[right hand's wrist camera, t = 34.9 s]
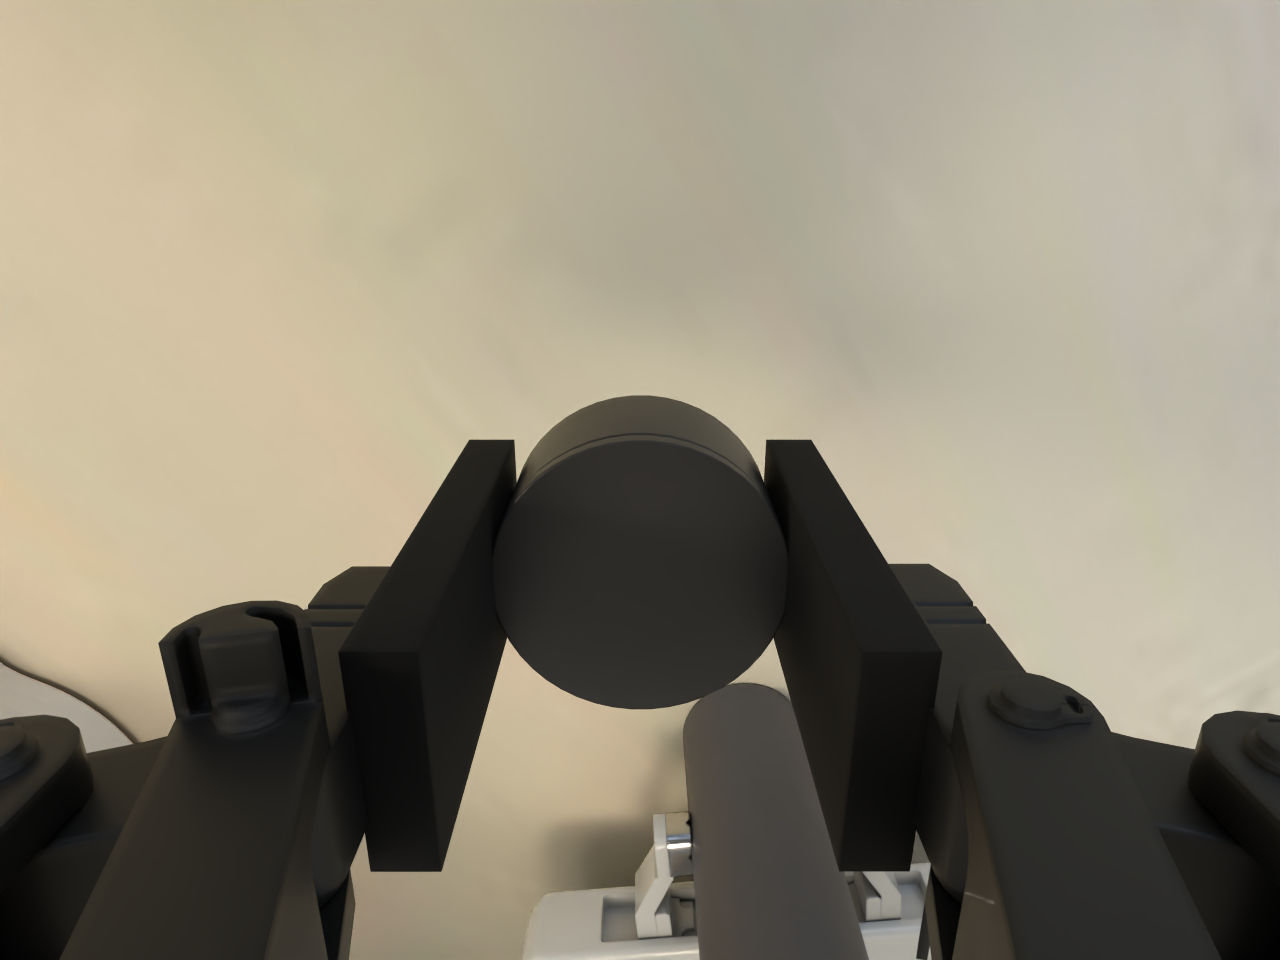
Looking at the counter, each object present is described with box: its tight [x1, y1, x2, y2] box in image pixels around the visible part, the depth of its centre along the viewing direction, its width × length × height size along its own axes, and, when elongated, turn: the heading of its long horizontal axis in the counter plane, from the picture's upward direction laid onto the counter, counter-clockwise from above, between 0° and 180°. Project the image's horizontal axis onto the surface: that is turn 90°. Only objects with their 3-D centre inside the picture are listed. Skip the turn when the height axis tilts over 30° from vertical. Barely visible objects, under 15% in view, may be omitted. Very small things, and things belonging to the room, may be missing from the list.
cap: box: [492, 396, 789, 709], centre depth 13 cm, size 4×4×2 cm
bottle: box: [683, 684, 869, 960], centre depth 28 cm, size 6×6×23 cm
